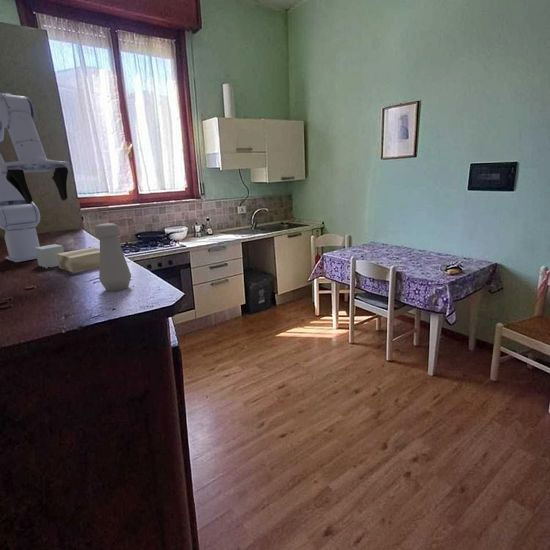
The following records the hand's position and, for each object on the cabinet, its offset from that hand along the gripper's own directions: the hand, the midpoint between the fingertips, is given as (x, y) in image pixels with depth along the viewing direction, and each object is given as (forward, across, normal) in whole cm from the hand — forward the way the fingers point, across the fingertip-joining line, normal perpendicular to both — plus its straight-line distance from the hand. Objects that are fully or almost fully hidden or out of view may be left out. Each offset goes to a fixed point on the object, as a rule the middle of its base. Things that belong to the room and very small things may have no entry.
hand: (48, 200), depth 86 cm
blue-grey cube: (+14, 0, +12) cm, 18 cm away
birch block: (+17, +4, +3) cm, 18 cm away
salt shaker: (+26, -1, -22) cm, 34 cm away
